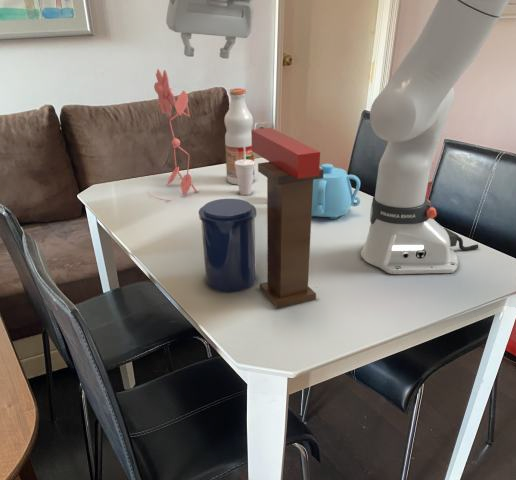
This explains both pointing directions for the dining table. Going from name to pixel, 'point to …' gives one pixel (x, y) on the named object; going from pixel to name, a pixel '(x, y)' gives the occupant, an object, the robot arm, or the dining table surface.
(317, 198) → the decorative pot
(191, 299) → the dining table surface
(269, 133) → the red rectangular block
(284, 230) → the stand
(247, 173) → the smoothie
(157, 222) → the dining table surface
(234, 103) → the fruit juice
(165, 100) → the figurine
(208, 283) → the pot
